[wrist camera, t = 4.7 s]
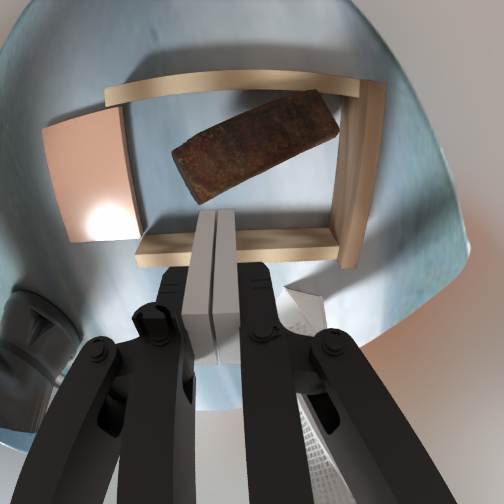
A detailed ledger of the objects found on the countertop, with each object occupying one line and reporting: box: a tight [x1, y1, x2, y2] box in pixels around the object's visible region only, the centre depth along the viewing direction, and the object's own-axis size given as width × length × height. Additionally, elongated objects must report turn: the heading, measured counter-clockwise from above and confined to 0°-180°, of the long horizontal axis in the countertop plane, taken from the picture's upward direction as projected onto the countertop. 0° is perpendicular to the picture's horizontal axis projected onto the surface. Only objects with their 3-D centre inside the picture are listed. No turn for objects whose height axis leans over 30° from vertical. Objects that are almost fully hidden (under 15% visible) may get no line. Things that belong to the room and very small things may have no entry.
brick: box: [172, 89, 340, 205], centre depth 17 cm, size 11×4×5 cm, turn 110°
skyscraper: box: [276, 287, 357, 504], centre depth 22 cm, size 8×8×28 cm
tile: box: [41, 106, 143, 243], centre depth 22 cm, size 9×13×1 cm
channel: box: [104, 70, 386, 269], centre depth 21 cm, size 20×16×5 cm
